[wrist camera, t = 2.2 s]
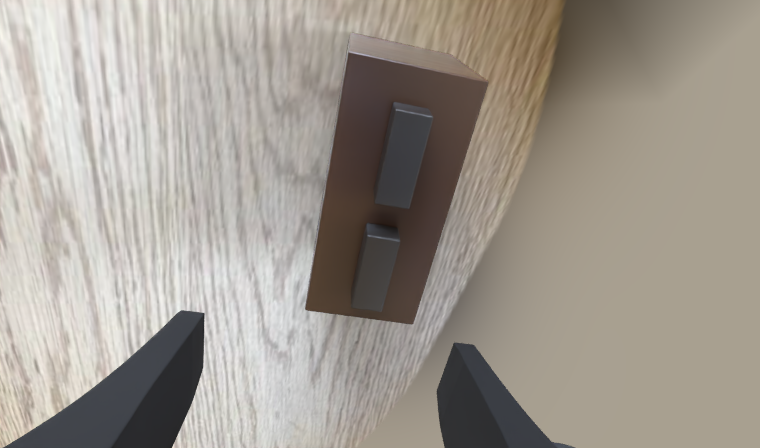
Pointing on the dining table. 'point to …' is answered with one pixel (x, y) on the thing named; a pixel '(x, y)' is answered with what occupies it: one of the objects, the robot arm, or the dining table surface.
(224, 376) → the dining table surface
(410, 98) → the knife block
